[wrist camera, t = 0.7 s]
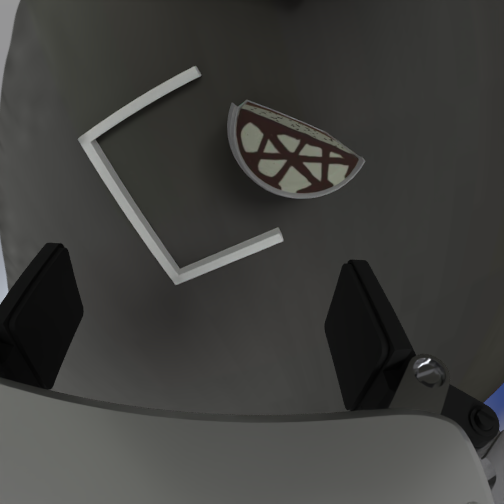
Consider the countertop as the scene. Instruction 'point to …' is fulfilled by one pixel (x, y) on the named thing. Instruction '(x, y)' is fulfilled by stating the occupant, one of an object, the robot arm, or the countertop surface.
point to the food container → (288, 153)
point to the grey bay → (134, 212)
